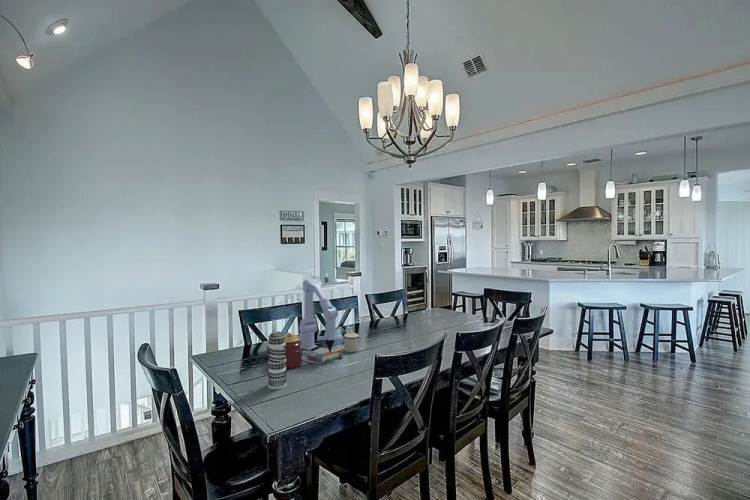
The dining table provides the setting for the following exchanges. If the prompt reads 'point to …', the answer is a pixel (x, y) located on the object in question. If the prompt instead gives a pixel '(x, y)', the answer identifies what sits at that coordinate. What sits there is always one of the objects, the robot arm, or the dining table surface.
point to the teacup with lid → (350, 342)
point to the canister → (293, 351)
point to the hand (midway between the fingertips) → (330, 352)
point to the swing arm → (327, 354)
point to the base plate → (311, 355)
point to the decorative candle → (277, 360)
